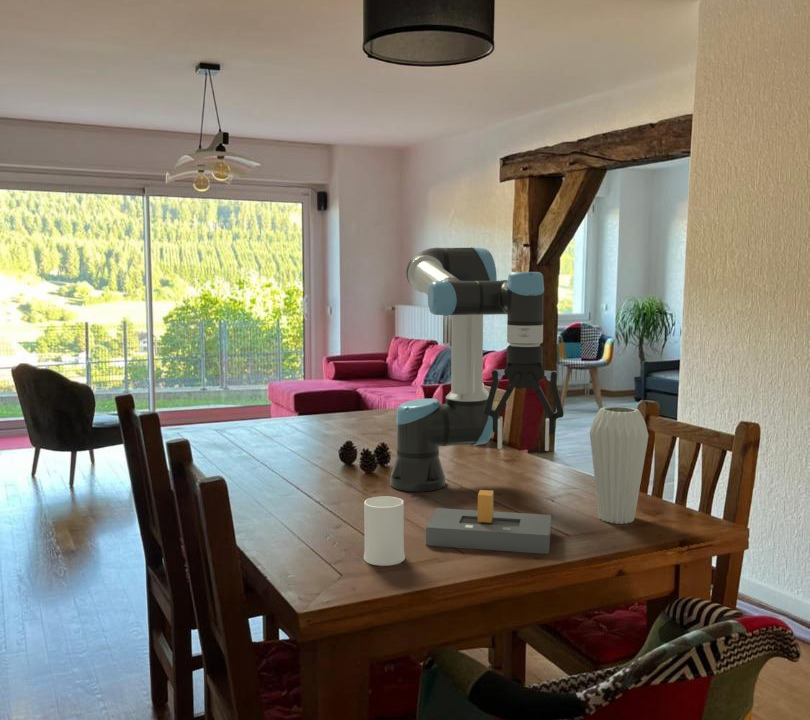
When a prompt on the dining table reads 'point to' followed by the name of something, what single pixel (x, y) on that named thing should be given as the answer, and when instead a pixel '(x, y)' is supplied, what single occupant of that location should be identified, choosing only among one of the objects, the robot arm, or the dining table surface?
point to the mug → (384, 530)
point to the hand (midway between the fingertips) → (523, 448)
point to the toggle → (485, 506)
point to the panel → (490, 531)
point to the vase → (618, 461)
